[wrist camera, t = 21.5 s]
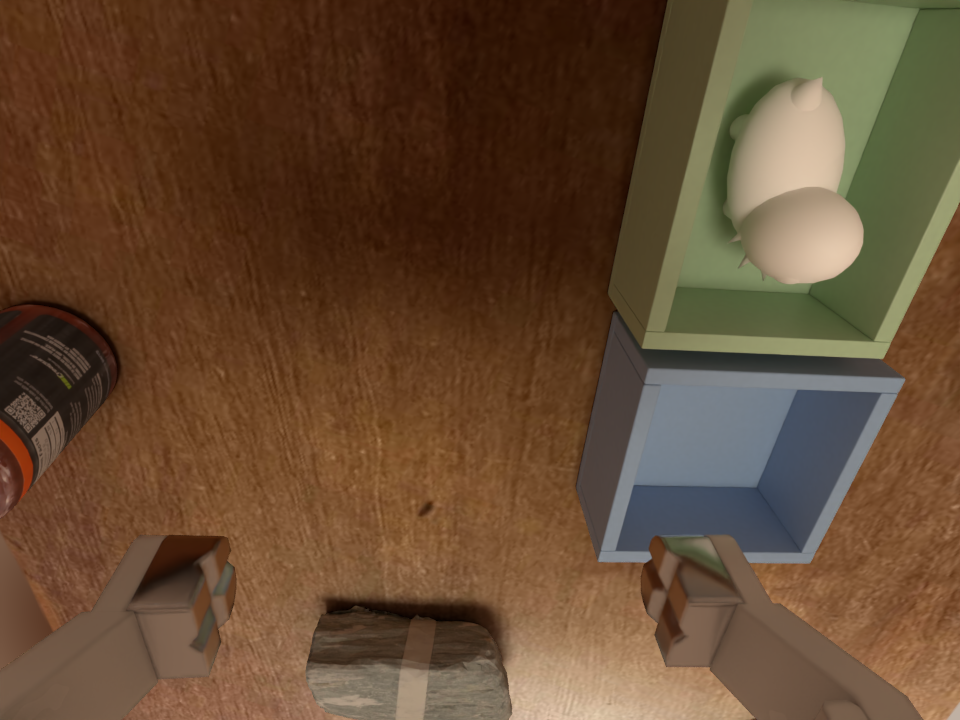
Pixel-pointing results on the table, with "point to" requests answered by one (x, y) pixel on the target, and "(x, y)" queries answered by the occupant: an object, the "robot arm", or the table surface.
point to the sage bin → (864, 184)
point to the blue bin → (725, 446)
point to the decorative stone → (406, 668)
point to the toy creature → (792, 186)
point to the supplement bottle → (45, 390)
